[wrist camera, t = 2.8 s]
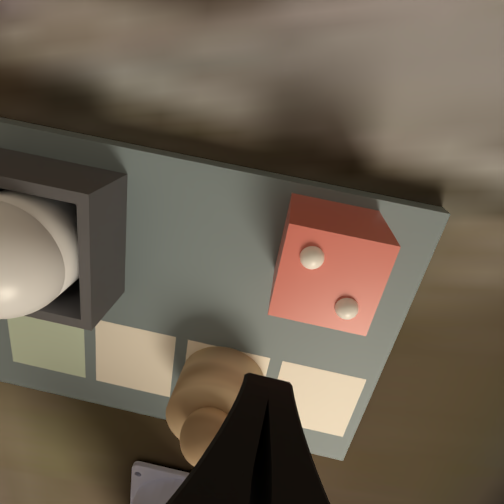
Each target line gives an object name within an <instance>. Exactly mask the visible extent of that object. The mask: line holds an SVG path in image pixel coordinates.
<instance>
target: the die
mask: <svg viewBox="0 0 504 504" xmlns="http://www.w3.org/2000/svg"><path fill="white" fill-rule="evenodd" d="M400 248H401V246H400V245H399V243H398V241H397V240H396V238H395V236H394V235H393V233H392V231H391V230H390V228H389V226H388V225H387V223H386V221H385V220H384V218H383V216H382V215H381V213H380V211H378V210H373V209H368V208H363V207H358V206H353V205H348V204H343V203H339V202H334V201H329V200H324V199H319V198H314V197H309V196H305V195H300V194H295V193H292V195H291V199H290V203H289V208H288V212H287V216H286V221H285V225H284V229H283V234H282V238H281V243H280V247H279V251H278V256H277V260H276V264H275V269H274V275H273V282H272V289H271V296H270V302H269V309H268V315H271V316H275V317H280V318H285V319H289V320H294V321H298V322H303V323H307V324H312V325H317V326H321V327H326V328H330V329H335V330H339V331H344V332H349V333H353V334H358V335H362V336H366V335H367V332H368V330H369V327H370V325H371V322H372V320H373V317H374V314H375V312H376V309H377V307H378V304H379V302H380V299H381V296H382V294H383V291H384V289H385V286H386V284H387V281H388V278H389V276H390V273H391V271H392V268H393V266H394V263H395V260H396V258H397V255H398V253H399V250H400Z"/></svg>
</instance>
